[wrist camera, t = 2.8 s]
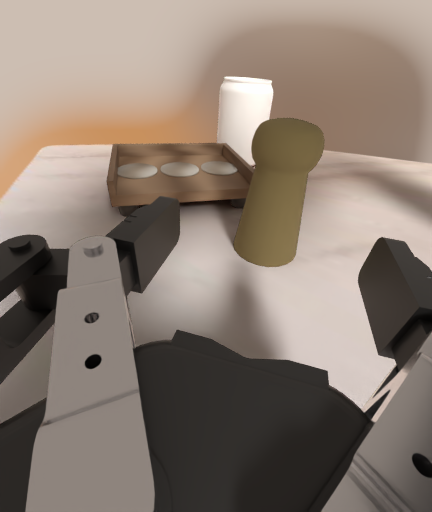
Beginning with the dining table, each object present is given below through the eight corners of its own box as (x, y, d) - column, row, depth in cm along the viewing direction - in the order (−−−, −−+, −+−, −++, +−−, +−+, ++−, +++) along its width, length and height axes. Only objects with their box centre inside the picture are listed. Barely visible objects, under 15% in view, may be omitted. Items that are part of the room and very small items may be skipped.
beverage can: (269, 162, 45) (285, 81, 38) (244, 172, 40) (255, 82, 33) (234, 151, 49) (241, 76, 42) (206, 160, 44) (209, 76, 37)
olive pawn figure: (221, 239, 25) (232, 114, 18) (266, 224, 28) (290, 111, 21) (261, 275, 21) (295, 133, 14) (309, 254, 24) (356, 126, 17)
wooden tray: (223, 170, 40) (226, 143, 38) (254, 208, 30) (260, 174, 28) (118, 174, 36) (112, 143, 34) (114, 219, 27) (106, 181, 24)
